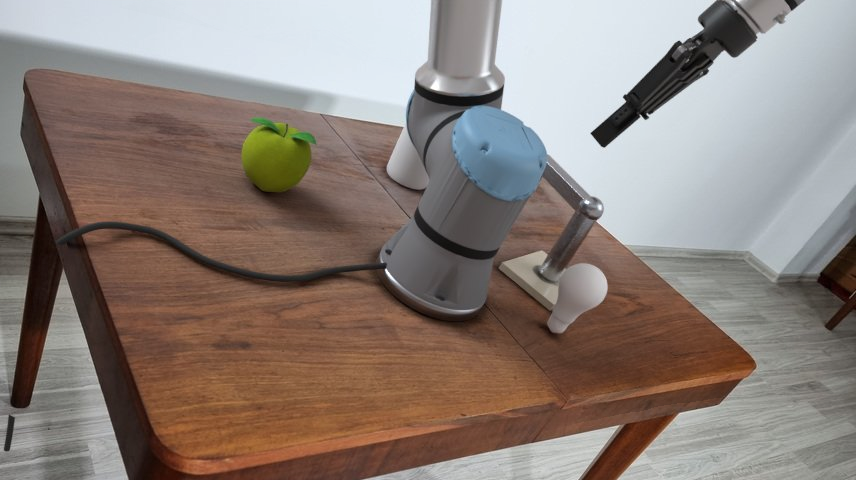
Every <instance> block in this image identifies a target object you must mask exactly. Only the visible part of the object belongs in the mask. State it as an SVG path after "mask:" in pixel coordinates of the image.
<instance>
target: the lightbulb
mask: <svg viewBox="0 0 856 480" xmlns="http://www.w3.org/2000/svg"><path fill="white" fill-rule="evenodd" d="M565 269H566V270H565V271H564V272H563V274H562V275H561V277H560V280H559V287H558V299H557V302H556V304H555V306H554V308H553V310H551V311H552V313H551V314H550V316H549V317H548V320H547V322H546V325H547V327H548V328H549V331H550V332H551V333H553V334H563V333H564V332H565V331H566V330H567V329H568V327H569V326H570V324H573V323H574V322H575V321H576V319H577V318H579V316H580V315H582V314H584V313H585V312H587V311H590V310H593V309H594V308H596V307H598V306H599V305H600V304H601V303H603V301H604V300H605V299H606V296H607V294H608V280H607V278H606V276H605V274H604V273H603V271H602V270H601V269H600V268H599V267H597V266H595V265H593V264H590V263H584V262H580V263H575V264H573V265H571V266H569V267H567V268H565Z"/></svg>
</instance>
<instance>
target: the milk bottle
mask: <svg viewBox="0 0 856 480" xmlns="http://www.w3.org/2000/svg"><path fill="white" fill-rule="evenodd" d="M386 173H387V175H388V176H389V178H391V179H392V180H393V181H395V182H396V183H397V184H399V185H401V186H404V187H406V188H408V189H413V190H421V191H422V190H426V188H427V186H428V184H429V180H430V179H429V177H428V174H427V172H426V170H425V167H424V165H423V163H422V161H421V159H420V157H419V155H418V152H417V150H416V149H415V147H414V145H413V144H412V142H411V140H410V138H409V135H408V131H407V125H406V123H405V124H404V126H403V128H402V130H401V133H400V135H399V137H398V140H397V142H396V144H395V146H394V149H393V151H392V153H391V156H390V158H389V160H388V163H387V165H386Z"/></svg>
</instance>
